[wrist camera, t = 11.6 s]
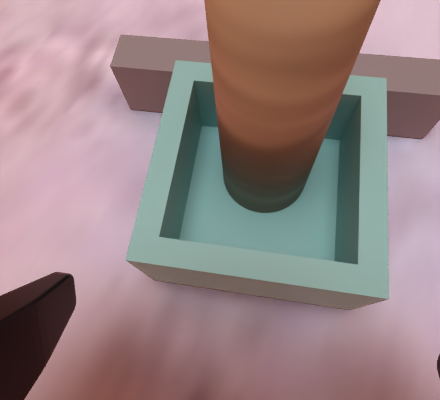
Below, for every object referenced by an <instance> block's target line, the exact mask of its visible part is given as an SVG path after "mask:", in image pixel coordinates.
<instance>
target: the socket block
mask: <svg viewBox="0 0 440 400" xmlns="http://www.w3.org/2000/svg"><path fill="white" fill-rule="evenodd" d="M126 261H128V262H129V263H130V264H132V265H133V266H135V267H136V268H138V269H139V270H140V271H142V272H143V273H145V274H146V275H148V276H149V277H150V278H152V279H153V280H157V281H163V282H170V283H177V284H183V285H190V286H196V287H203V288H209V289H216V290H222V291H229V292H236V293H242V294H249V295H255V296H262V297H268V298H275V299H281V300H288V301H294V302H301V303H308V304H314V305H321V306H327V307H334V308H340V309H347V310H352V309H356V308H359V307H363V306H366V305H370V304H373V303H377V302H380V301H384V300H387V299H389V268H388V171H387V78H378V77H366V76H355V75H350V76H349V79H348V81H347V84H346V86H345V89H344V91H343V93H342V96H341V98H340V101H339V103H338V106H337V108H336V111H335V113H334V116H333V118H332V120H331V123H330V125H329V128H328V130H327V133H326V135H325V138H324V140H323V143H322V145H321V147H320V150H319V152H318V155H317V157H316V160H315V162H314V165H313V167H312V169H311V172H310V174H309V177H308V179H307V182H306V184H305V187H304V189H303V191H302V193H301V195H300V196H299V198H298V199H297V200H296V201H295V202H294V203H293V204H291V205H290V206H289V207H287V208H285V209H283V210H280V211H277V212H272V213H259V212H254V211H251V210H248V209H246V208H244V207H242V206H240V205H239V204H238V203H236V202H235V201H234V200H233V199H232V197H231V196H230V195H229V193H228V191H227V189H226V187H225V184H224V179H223V169H222V160H221V151H220V141H219V132H218V122H217V113H216V104H215V94H214V85H213V75H212V66H211V63H202V62H191V61H179V60H176V61H175V65H174V69H173V73H172V77H171V81H170V85H169V89H168V93H167V97H166V101H165V105H164V109H163V113H162V117H161V121H160V125H159V129H158V133H157V137H156V141H155V145H154V149H153V153H152V157H151V161H150V165H149V169H148V173H147V177H146V181H145V185H144V189H143V193H142V197H141V201H140V205H139V209H138V213H137V217H136V221H135V225H134V229H133V233H132V237H131V241H130V245H129V249H128V253H127V257H126Z"/></svg>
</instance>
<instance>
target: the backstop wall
mask: <svg viewBox="0 0 440 400" xmlns="http://www.w3.org/2000/svg"><path fill="white" fill-rule="evenodd" d="M176 60H179V61H191V62H202V63H211V57H210V47H209V42H208V41H195V40H183V39H170V38H157V37H145V36H132V35H120V38H119V41H118V44H117V47H116V50H115V53H114V56H113V59H112V62H111V65H110V67H111V69H112V71H113V73H114V75H115V77H116V79H117V81H118V83H119V86H120V88H121V90H122V92H123V94H124V96H125V98H126V100H127V102H128V104H129V107H130V109H132V110H142V111H152V112H162V113H163V109H164V105H165V101H166V97H167V93H168V89H169V85H170V81H171V77H172V73H173V69H174V65H175V61H176ZM350 75H355V76H366V77H378V78H387V135H388V136H398V137H408V138H418V139H423V138H424V137H425V136H426V135H427V134H428V132H429V131H430V130H431V129H432V128H433V127H434V126H435V125H436V124H437V122H438V121H439V120H440V60H436V59H424V58H411V57H398V56H386V55H373V54H360V53H359V54H358V57H357V59H356V62H355V64H354V66H353V69H352V71H351V74H350Z"/></svg>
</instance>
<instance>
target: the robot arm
mask: <svg viewBox="0 0 440 400" xmlns="http://www.w3.org/2000/svg"><path fill="white" fill-rule="evenodd" d="M75 306H76V294H75V285H74V278H73V276H72V275H71V274H68V273H62V272H54V273H52V274H50V275H47V276H45V277H43V278H40V279H38V280H36V281H33V282H31V283H29V284H26V285H24V286H22V287H20V288H17V289H15V290H13V291H10V292H8V293H6V294H3V295H1V296H0V400H24V399H25V397H26V396H27V394H28V393H29V391H30V390H31V388H32V386H33V385H34V383H35V382H36V380H37V379H38V377H39V375H40V374H41V372H42V371H43V369H44V367H45V366H46V364H47V362H48V360H49V358H50V357H51V355H52V353H53V351H54V349H55V347H56V345H57V343H58V341H59V339H60V337H61V335H62V333H63V331H64V329H65V327H66V325H67V323H68V321H69V319H70V317H71V315H72V313H73V311H74V309H75ZM437 370H438V374H439V378H440V355H439V357H438V360H437Z"/></svg>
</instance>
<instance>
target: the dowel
mask: <svg viewBox="0 0 440 400" xmlns="http://www.w3.org/2000/svg"><path fill="white" fill-rule="evenodd" d="M379 3H380V0H205V10H206V19H207V28H208V38H209V47H210V57H211V66H212V75H213V85H214V94H215V104H216V113H217V122H218V132H219V141H220V151H221V160H222V169H223V179H224V184H225V187H226V189H227V191H228V193H229V195H230V196H231V197H232V199H233V200H234V201H235V202H236V203H238V204H239V205H240V206H242V207H244V208H246V209H248V210H251V211H254V212H259V213H272V212H277V211H280V210H283V209H285V208H287V207H289V206H290V205H291V204H293V203H294V202H295V201H296V200H297V199H298V198H299V196H300V195H301V193H302V191H303V189H304V187H305V184H306V182H307V179H308V177H309V174H310V172H311V169H312V167H313V165H314V162H315V160H316V157H317V155H318V152H319V150H320V147H321V145H322V143H323V140H324V138H325V135H326V133H327V130H328V128H329V125H330V123H331V120H332V118H333V116H334V113H335V111H336V108H337V106H338V103H339V101H340V98H341V96H342V93H343V91H344V89H345V86H346V84H347V81H348V79H349V76H350V74H351V71H352V69H353V66H354V64H355V62H356V59H357V57H358V54H359V52H360V49H361V47H362V44H363V42H364V39H365V37H366V35H367V32H368V30H369V27H370V25H371V22H372V20H373V17H374V15H375V13H376V10H377V8H378V5H379Z"/></svg>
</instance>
